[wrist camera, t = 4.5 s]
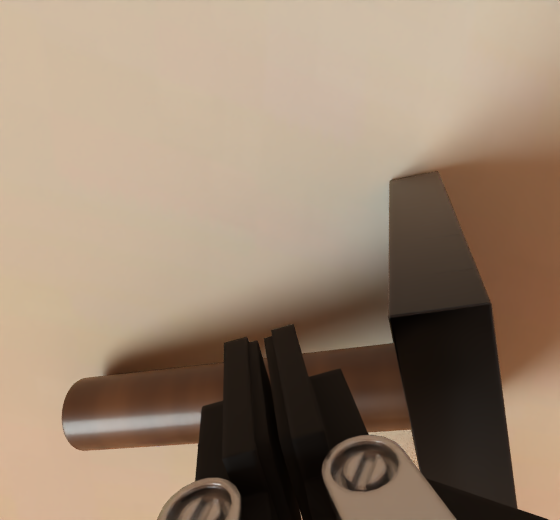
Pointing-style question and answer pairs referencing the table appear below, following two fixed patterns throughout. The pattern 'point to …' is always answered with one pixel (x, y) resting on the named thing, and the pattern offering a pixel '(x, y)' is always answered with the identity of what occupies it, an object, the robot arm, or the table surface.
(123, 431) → the towel holder
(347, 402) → the robot arm
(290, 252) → the table surface
